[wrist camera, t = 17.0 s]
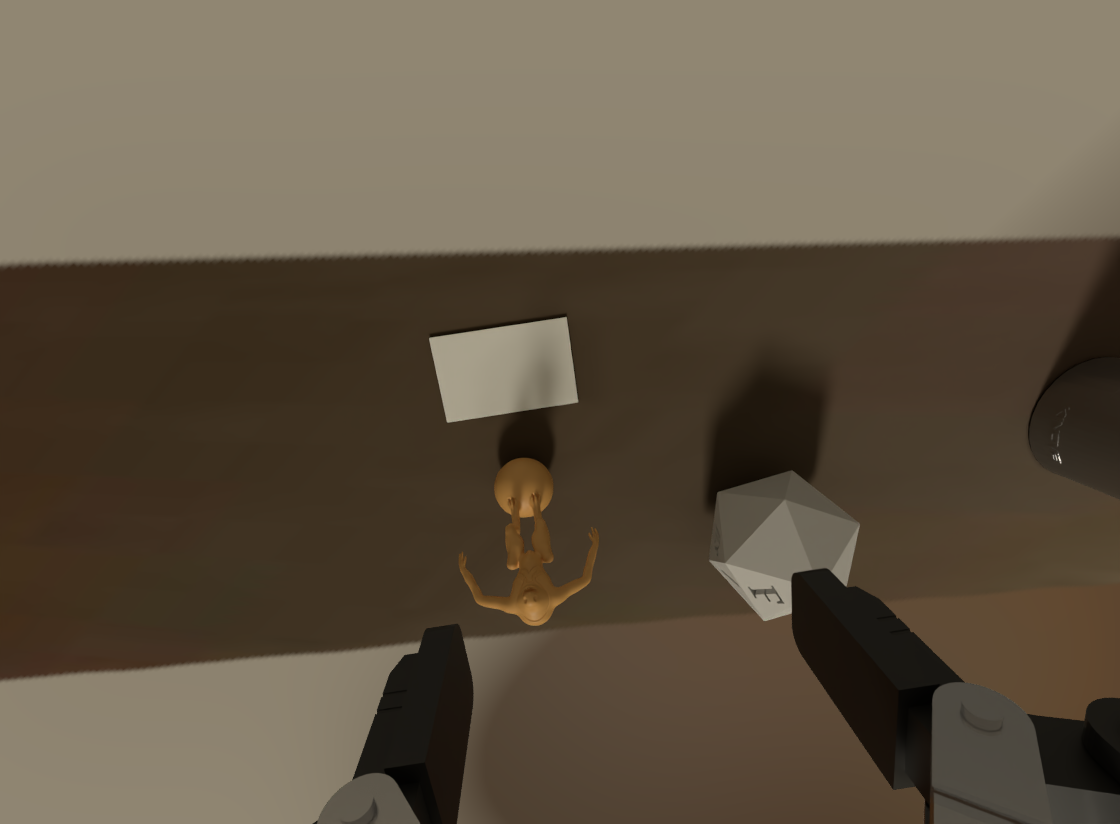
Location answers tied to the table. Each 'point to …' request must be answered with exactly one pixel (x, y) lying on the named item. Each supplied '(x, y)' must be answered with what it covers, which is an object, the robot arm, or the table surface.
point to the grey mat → (505, 369)
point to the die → (778, 539)
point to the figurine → (524, 495)
